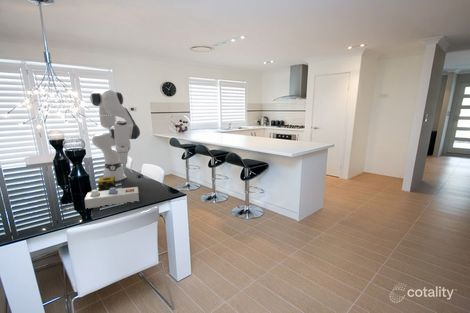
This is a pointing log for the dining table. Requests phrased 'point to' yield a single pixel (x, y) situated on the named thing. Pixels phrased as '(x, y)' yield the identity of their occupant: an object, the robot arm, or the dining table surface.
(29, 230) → the dining table surface
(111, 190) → the key blue
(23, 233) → the dining table surface
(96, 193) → the key white
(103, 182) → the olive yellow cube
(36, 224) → the dining table surface
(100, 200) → the console
